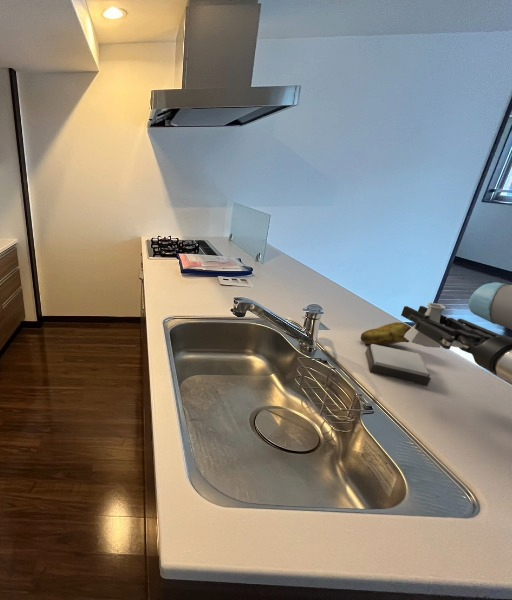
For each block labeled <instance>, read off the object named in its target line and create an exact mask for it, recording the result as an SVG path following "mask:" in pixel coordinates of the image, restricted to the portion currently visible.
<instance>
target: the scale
mask: <svg viewBox="0 0 512 600" xmlns="http://www.w3.org/2000/svg"><path fill="white" fill-rule="evenodd" d="M365 356H366V360H367V365H368V371H369V373H371V374H375V375H378V376H384V377H387V378H390V379H391V378H392V379H395V380H399V381H402V382H403V381H404V382H407V383H412V384H416V385H420V386H424V387H428V386H429V384H430V381H431V379H432V378H431V377H430V376H431V374H430V372H429V370H428V368H427V366H426V364H425V362H424V361H423V358H422V357H421V354H420V353H417V352H413V351H409V350H403V349H400V348H399V349H398V348H393V347H389V346H385V345H376V344H371V345H367V347H366V350H365Z"/></svg>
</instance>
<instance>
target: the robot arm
mask: <svg viewBox="0 0 512 600" xmlns="http://www.w3.org/2000/svg"><path fill="white" fill-rule="evenodd" d="M427 309H428V307H426V306H424V305H419V307H418V310H416V309H414V308H412V307H411V306H408V305H404V306H403V309H402V311H401V314H400V316H401V317H403V318H405V319H406V320H409V321H410V322H412V323H414V325H415V324H416V325H415V328H414V329H416V330H417V331H419V332H421V333H422V334H424V335H426V336H427V337H429V338H431V339H432V340H434V341H436V342H437V343H439V344H440V345H441V346H440V347H441V348H442V349H445V350H450V349H451V348H452V347H454V348H459V349H460V350H461V351H463V352H465V353H466V354H470V355H472V357H473V360H474V362H475V364H477V366H479V367H481V368H483V370H484V369H485V370H486V371H487V372H490V373H492V374H494V375H496V376H498V377H499V378H501V379H503V380H504V381H507V382H509V383H510V384H512V337H511V336H507V335H503V334H500V333H497V332H495V331H492V330H491V329H490V330H489V329H487V328H485V327H482V326H480V325H478V324H476V323H473V322H470V321H469V320H466V319H463V318H457V319H455V318H454V317H447V316H446V315H443V314H441V316H440V323H438V322H435V321H433V320H430V319H429V316H428V315H424V314H425V313H426V311H427ZM468 309H469V311H470V312H471V313H472V314H473V315H475V316H477V317H479V318H481V319H483V320H485V321H487V322H489V323H491V324H492V325H498V326H500V327H503V328H506V329H509V330H511V331H512V284H508V283H505V282H503V283H502V282H498V281H497V282H495V281H493V282H490V283H485V284H483V285H481V286H479V287H478V288H476V290H475V291H474V292H473V293H472V294H471V295H470V297H469V299H468Z"/></svg>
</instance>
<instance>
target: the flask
mask: <svg viewBox="0 0 512 600" xmlns="http://www.w3.org/2000/svg"><path fill="white" fill-rule="evenodd" d="M427 308H428V309H427V311H426V313H425V314H424V315H428V316H429V319H430V320H433V321H435V322H438V323H440V316H441V315H442V312H443V311H445V309H446V305H443V304H440V303H435V302H428V303H427ZM415 325H416V323H414V325H412V326H411V329H410V330H408V331H407V332H406V334H405V336H404V337H405V338H406V339H407V340H409V342H410V343H412V344H416V345H420V346H422V347H426V348H427V347H428V348H437V349H440V348H441V347H442V346H441V345H440V344H439V343H437V342H436V341H434V340H432V339H431V338H429V337H427V336H426V335H424V334H422V333H421V332H419V331H417V330H416V329H414V328H415Z"/></svg>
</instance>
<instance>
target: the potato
mask: <svg viewBox="0 0 512 600" xmlns="http://www.w3.org/2000/svg"><path fill="white" fill-rule="evenodd" d="M411 328H412V326H410V325H408V324H407V323H405V322H404V323H403V322H392V323H389V324H384V325H382V326H378V327H377V328H371V329H368V330H365V331H364V332H362V333H361V334H360V340H361V342H362V343H364V344H366V345H368V346H371V344H375V345H379V346H386V345H387V346H388V345H393V344H400V343H409V342H410V341H409V340H407V339H406V338H405V337H404V336H405V334H406V332H407V331H408V330H410V329H411Z"/></svg>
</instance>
